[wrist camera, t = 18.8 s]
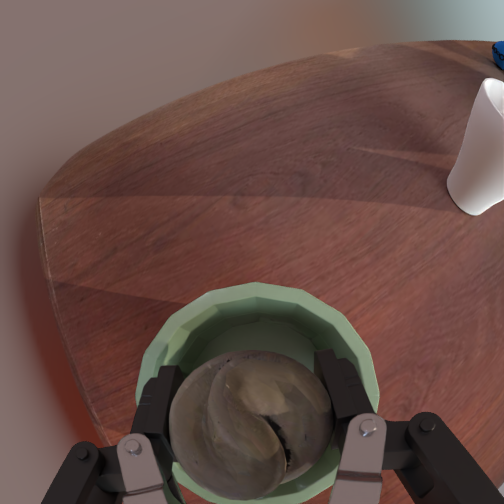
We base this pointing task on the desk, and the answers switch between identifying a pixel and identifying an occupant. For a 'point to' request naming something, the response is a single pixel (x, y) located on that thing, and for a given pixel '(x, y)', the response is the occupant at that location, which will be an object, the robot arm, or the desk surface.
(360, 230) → the desk surface
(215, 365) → the light bulb
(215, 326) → the pot
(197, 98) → the desk surface
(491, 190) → the cup
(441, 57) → the desk surface
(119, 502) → the robot arm
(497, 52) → the ornament
